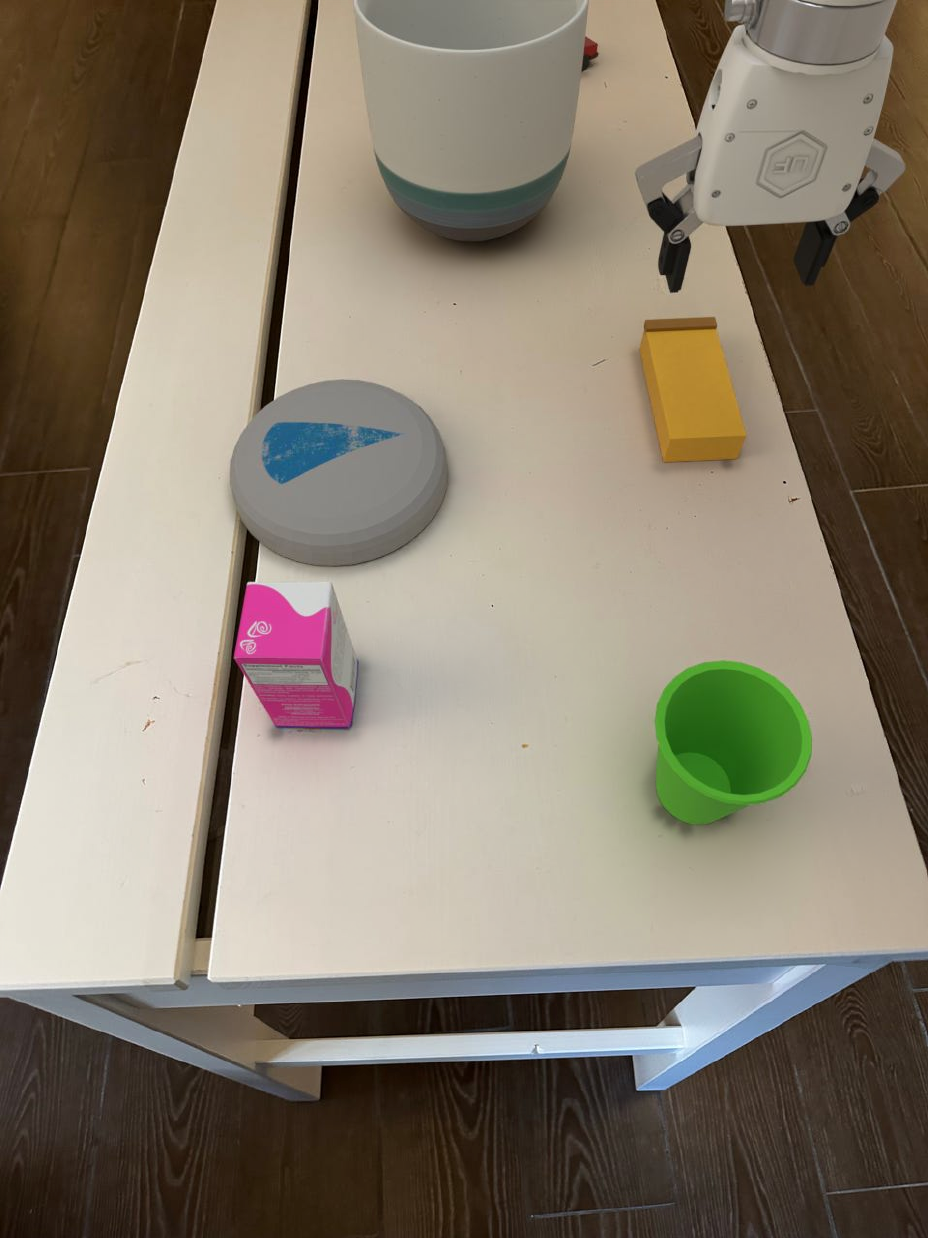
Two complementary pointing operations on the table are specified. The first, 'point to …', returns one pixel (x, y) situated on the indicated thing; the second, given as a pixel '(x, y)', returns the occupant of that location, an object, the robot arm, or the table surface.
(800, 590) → the table surface
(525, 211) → the planter
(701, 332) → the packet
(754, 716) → the cup
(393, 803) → the table surface
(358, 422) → the grey frisbee
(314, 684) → the supplement box
